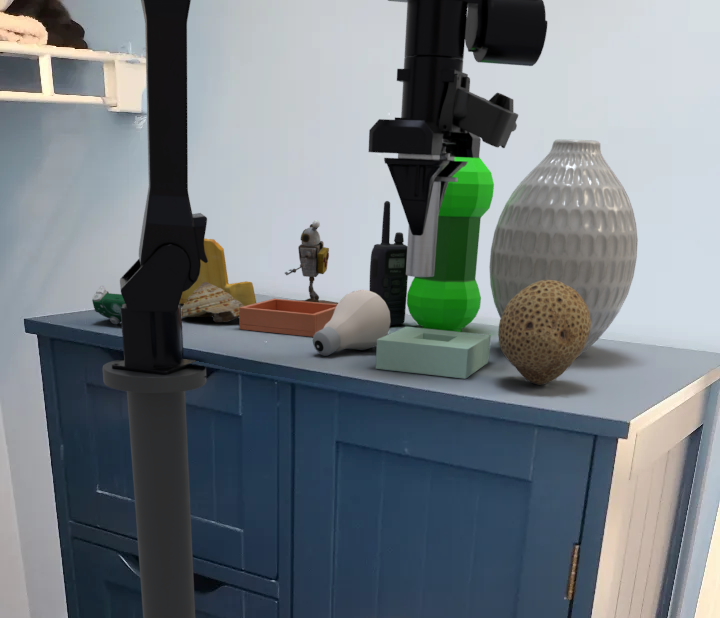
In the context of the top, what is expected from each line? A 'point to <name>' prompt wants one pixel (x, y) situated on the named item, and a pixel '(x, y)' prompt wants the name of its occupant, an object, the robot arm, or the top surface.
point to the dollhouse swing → (220, 276)
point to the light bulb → (354, 324)
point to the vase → (568, 233)
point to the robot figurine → (312, 259)
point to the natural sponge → (544, 330)
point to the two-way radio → (390, 271)
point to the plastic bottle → (455, 253)
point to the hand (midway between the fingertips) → (422, 234)
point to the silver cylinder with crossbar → (426, 238)
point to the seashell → (211, 304)
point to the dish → (286, 316)
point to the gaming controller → (108, 304)
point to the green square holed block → (433, 352)
